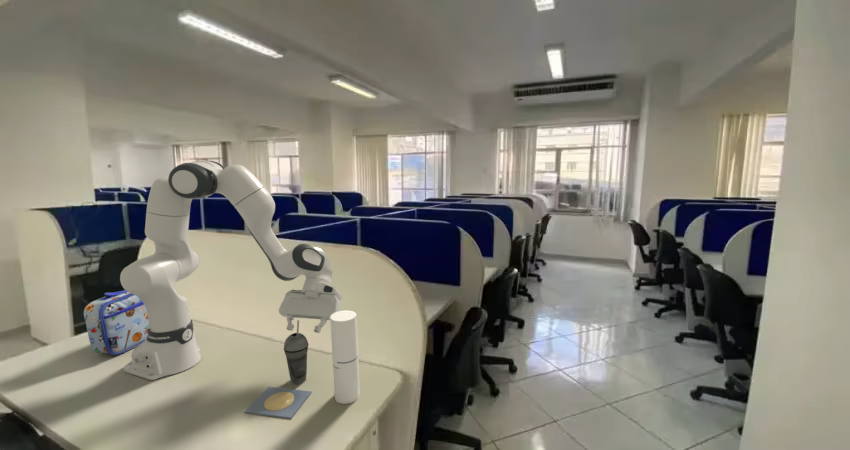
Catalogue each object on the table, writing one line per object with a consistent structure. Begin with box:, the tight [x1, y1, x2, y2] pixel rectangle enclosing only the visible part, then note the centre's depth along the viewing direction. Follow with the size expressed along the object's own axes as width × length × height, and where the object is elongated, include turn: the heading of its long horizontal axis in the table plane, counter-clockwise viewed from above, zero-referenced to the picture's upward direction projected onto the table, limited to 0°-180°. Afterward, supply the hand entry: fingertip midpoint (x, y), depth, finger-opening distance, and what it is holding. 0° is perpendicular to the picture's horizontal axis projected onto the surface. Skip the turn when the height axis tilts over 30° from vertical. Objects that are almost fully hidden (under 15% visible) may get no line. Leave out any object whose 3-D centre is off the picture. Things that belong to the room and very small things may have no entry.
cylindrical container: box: [330, 309, 361, 405], centre depth 101 cm, size 7×7×25 cm
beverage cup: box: [283, 319, 309, 386], centre depth 109 cm, size 7×7×20 cm
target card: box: [244, 386, 313, 420], centre depth 100 cm, size 14×11×1 cm
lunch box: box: [83, 289, 150, 356], centre depth 132 cm, size 28×10×22 cm, turn 169°
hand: (303, 331), depth 112 cm, fingers open, 8 cm apart
